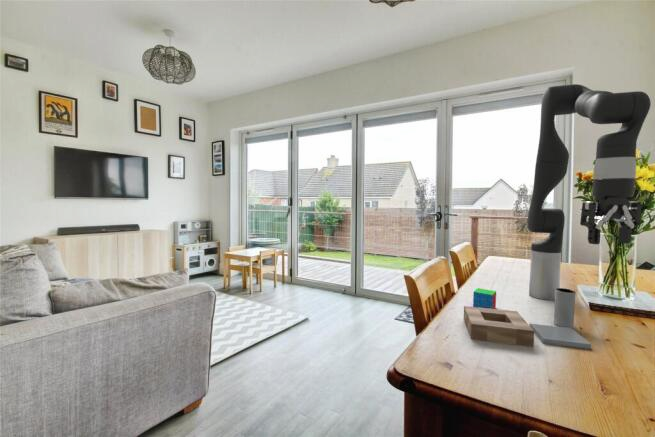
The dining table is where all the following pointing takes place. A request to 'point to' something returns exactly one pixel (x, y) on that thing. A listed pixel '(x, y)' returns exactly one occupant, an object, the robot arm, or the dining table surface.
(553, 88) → the robot arm
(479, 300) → the puzzle toy
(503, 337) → the socket block
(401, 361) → the dining table surface
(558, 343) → the coaster
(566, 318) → the grey hollow tube
